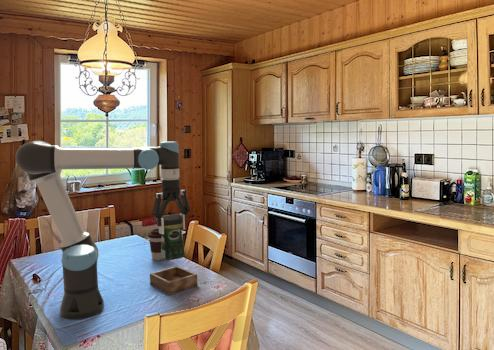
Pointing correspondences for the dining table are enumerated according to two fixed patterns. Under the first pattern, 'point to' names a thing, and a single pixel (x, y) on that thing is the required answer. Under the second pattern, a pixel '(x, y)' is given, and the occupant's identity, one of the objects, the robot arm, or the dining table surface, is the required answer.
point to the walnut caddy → (173, 280)
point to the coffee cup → (155, 244)
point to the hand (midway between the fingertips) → (172, 231)
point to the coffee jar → (172, 238)
